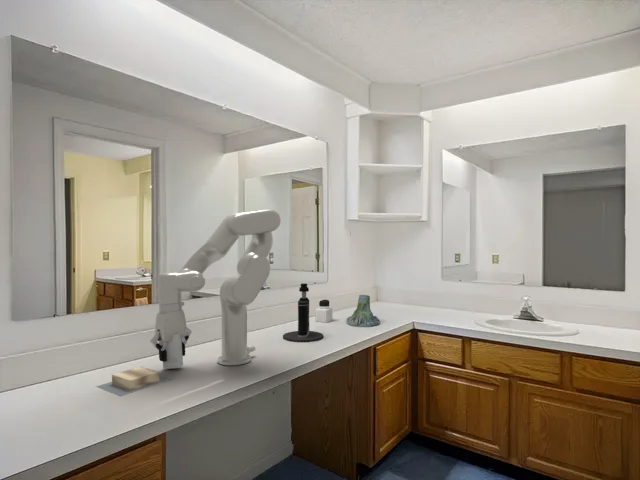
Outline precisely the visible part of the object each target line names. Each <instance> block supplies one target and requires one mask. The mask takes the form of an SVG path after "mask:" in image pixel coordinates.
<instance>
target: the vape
mask: <svg viewBox="0 0 640 480" xmlns="http://www.w3.org/2000/svg"><path fill="white" fill-rule="evenodd" d="M298 290H299V293H300V292H301V297H300V298H299V300H298V301H297V330H294V331H288V332H286V333H283V335H282V339H283V340H285V341H287V342H292V343H313V342H318V341H321V340H322V339H324V334H323V333H321V332H318V331H316V330H315V331H314V330H310V299H309V298H308V297H307V293H308V292H309V286H308V283H300V287H299V289H298Z"/></svg>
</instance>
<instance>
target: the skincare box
mask: <svg viewBox="0 0 640 480" xmlns="http://www.w3.org/2000/svg"><path fill="white" fill-rule="evenodd" d="M161 340H162V338H161ZM162 344H163V343H162ZM165 350H166V352H167V361H166V362H163V361H162V368H163V370H169V369H181V368H182V367H183V365H184V358H183V357H184V356H183V355H182V340H181V338H180V333H176V334H174V335H173V340H172V341H169V342H167V344H166V347H165Z"/></svg>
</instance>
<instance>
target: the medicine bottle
mask: <svg viewBox="0 0 640 480" xmlns="http://www.w3.org/2000/svg"><path fill="white" fill-rule="evenodd" d="M332 321H333V308H332V307H330V300H328V299H319V300H318V307H317V308H315V322H317V323H325V324H326V323H330V322H332Z"/></svg>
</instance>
